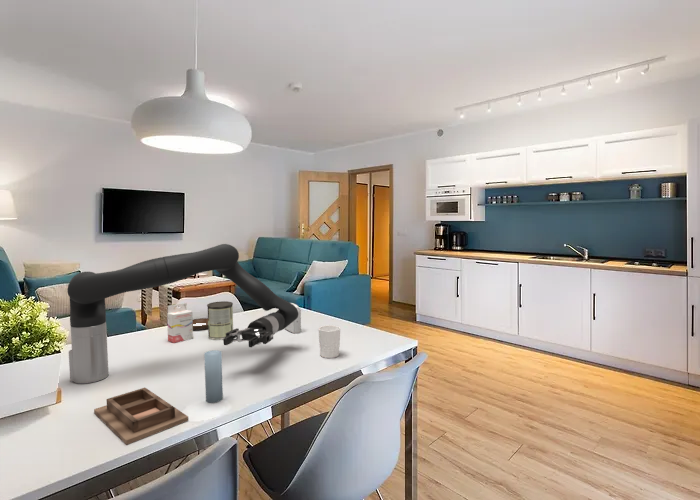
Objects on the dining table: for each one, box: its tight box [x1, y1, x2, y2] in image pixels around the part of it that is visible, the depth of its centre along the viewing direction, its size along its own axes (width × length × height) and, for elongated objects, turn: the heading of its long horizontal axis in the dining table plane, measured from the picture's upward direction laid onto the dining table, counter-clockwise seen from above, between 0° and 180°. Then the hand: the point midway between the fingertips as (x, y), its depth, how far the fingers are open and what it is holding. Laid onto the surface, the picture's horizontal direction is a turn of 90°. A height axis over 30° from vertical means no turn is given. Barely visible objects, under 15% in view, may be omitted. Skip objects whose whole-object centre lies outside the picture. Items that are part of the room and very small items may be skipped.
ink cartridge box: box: [166, 302, 194, 344], centre depth 163 cm, size 9×5×15 cm, turn 141°
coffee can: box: [206, 300, 234, 341], centre depth 167 cm, size 10×10×14 cm
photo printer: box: [284, 302, 302, 334], centre depth 176 cm, size 10×4×12 cm, turn 36°
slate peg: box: [203, 349, 224, 404], centre depth 108 cm, size 4×4×13 cm
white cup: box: [318, 324, 341, 359], centre depth 143 cm, size 8×8×10 cm
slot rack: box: [93, 387, 190, 446], centre depth 99 cm, size 22×14×4 cm, turn 49°
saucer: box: [193, 317, 208, 331], centre depth 183 cm, size 15×15×3 cm
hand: (237, 343), depth 118 cm, fingers open, 8 cm apart
